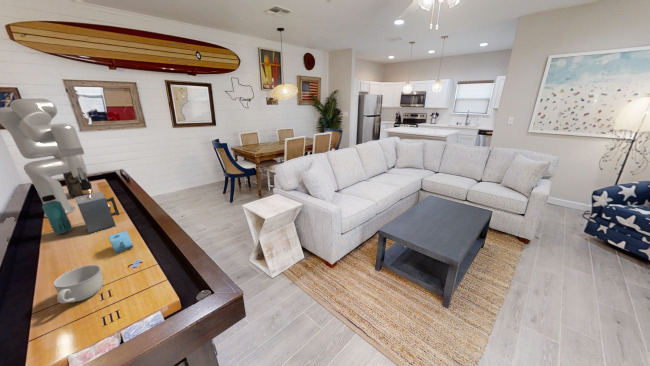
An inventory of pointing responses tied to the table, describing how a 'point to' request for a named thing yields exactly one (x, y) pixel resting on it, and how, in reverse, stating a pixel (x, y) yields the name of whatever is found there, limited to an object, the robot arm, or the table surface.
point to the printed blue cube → (121, 242)
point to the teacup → (78, 283)
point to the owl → (73, 185)
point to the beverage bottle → (56, 215)
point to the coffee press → (97, 211)
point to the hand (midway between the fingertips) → (87, 189)
